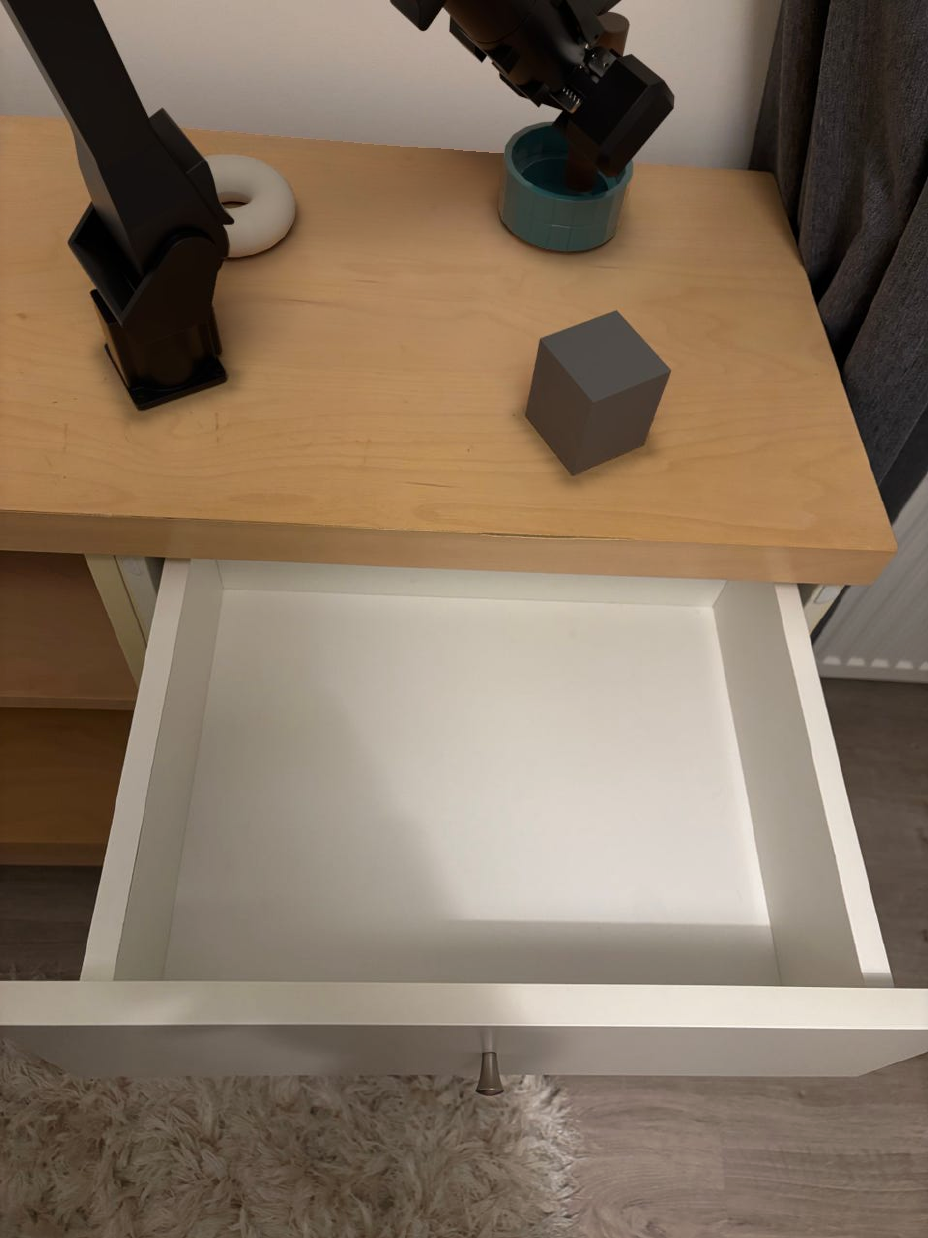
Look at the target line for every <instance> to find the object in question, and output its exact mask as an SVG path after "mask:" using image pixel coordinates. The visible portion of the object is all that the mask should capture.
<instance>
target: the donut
mask: <svg viewBox="0 0 928 1238" xmlns="http://www.w3.org/2000/svg"><path fill="white" fill-rule="evenodd" d="M203 157H204V159H205V160H206V161H207V162H208V164H209V167H210V170H211V172H212V175H213V178H214V182H215V187H216V191H217V196H218V199H219V201H220V203H221V204H222V203H227V202H241V203H244V204H243V205H241V206H239V207H232V208H225V209H226V210H227V211H228V213H229V214H230V215H231V216H232V218H233V219H234V221H235V222H234V224H232V225H223V226H224V227H225V229H226V231H227V234H228V238H229V242H230V254H229V256H228V257H227V258H241V257H247V256H253V255H256V254H258V253H261V252H264V251H266V250H268V249H270V248H271V247H273V246H275V245H276V244H277V243H278V242H280V241H281V240H282V239H284V238H285V237H286V235H287V233H288V232H289V230H290V229H291V227H292V225H293V224H294V221H295V216H296V213H295V212H296V203H297V200H296V197H295V194H294V192H293V189H292V186H291V184H290V182H289V181H288V179H287V178H286V177H285V176H284V175H283V174H282V173H281V172H280V171H279V170H278V169H277V168H276V167H274V166H273V165H270V164H269V163H267V162H265V161H263V160H261V159H259V158H257V157H252V156H249V155H245V154H241V153H239V154H238V153H219V154H212V155H210V154H209V155H205V156H203Z"/></svg>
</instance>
